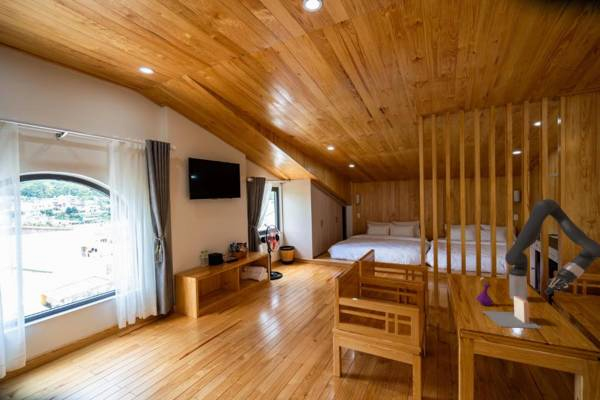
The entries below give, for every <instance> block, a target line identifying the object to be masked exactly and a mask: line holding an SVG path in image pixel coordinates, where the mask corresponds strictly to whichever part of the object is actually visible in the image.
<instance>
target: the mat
mask: <svg viewBox="0 0 600 400" xmlns="http://www.w3.org/2000/svg"><path fill="white" fill-rule="evenodd" d="M482 313H484V315H485V316H487V317H488V318H490V320H492V321H493V322H494V323H495V324H496V325H498V326H499V327H500V328H517V329H531V330H532V329H537V330H542V329H543V327H541V326H539V325H538V324H536V323H535V322H534V321H532V320H531V319H529V323H524V322H522V321H521V320H519V319H518V318H517V317H515V316H514V312H511V311H490V310H488V311H487V310H486V311H485V310H482Z"/></svg>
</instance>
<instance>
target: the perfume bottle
mask: <svg viewBox="0 0 600 400" xmlns="http://www.w3.org/2000/svg"><path fill="white" fill-rule="evenodd" d="M482 280H485V282H484V283H483V285H482V286H483V287H484V288H483V290H482V291H481V292H480V294H479V295H477V296H476V299H477V300H478V302H479V303H480V304H481V306H484V307H485V306H486V307H490V306H491V305H492V304H494V301H493V300H492V298H491V297H490V296H489V294H488V290H489V288H490V287H491V284H490V282H489V281H488V280H487V279H486V278H485V277H483V276H482V277H480V280H479V281H482Z"/></svg>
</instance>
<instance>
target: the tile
mask: <svg viewBox="0 0 600 400" xmlns="http://www.w3.org/2000/svg"><path fill="white" fill-rule="evenodd" d="M529 306H530V305H529V301H528V300H527V301H526V300H524V299H522V298H521V297H519V296H514V300H513V309H514V310H513V311H514V316H515V317H517V318H518V319H519V320H521V321H522V322H524V323H529V320H530V309H529V308H530V307H529Z"/></svg>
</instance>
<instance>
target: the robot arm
mask: <svg viewBox="0 0 600 400" xmlns="http://www.w3.org/2000/svg"><path fill="white" fill-rule="evenodd" d="M548 216H551V217H552V218H553V219H554V220H555V221H556V222H557V224H558V226H559V227H560V229H561V231H562V232H563V233H564V235H565V236H566V237H567V238H568V239H569V240H570V241H571V242H573V243H574V244H575V245H578V246H580V247H581V248H582V250H581V251H580V252H578V254H577V255H576V256H574V258H573V259H572V260H570V261H569V262H568V263H566V264H565V265H563V266H562V267H561V268H560V269H559V270H558V271H557V272H556V276H553V278H551V277H548V278H547V283H546V286H547V288H546V289H544V291H543V293H545V295H551V294H552V293H553V292H556V291H557V292H560V291H564V290H567V289H568V290H569V288H570V286H569V285H570V284H573V282H575V281H576V280H577V279H578V278H579V277H580V276H582V275H583V274H584V273H585V271H587V270H588V269H589V268H590V267H591V266H592V264H593V263H594V262H595V260H597V259H599V258H600V243H598V242H597V241H596V240H594V239H592V238H591V237H589V236H588V234H586V232H584V231H583V230H582V229H581V228H579V227H578V225H576V224H575V223H574V222H573V221H572V219H571V218H570V217H569V216H568V215H567V213H565V211H564V210H563V209H562V207H561V206H560V205H559V204H558V202H557V201H556V200H554V199H551V198H546V199H543V200H539V201H537V202H535V204H534V205H533V206H532V210H531V212H530V215H529V216H528V219H527V221H525V223H524V226H523V227H522V228H521V230H520V232H519V233H518V235H517V237H516V239H515V241H514V243H513V245H512V246H511V247H510V248H509V250H508V251H507V252H506V253H505V257H504V258H505V259H504V260H505V262H506V264H508V265H509V266H513V267H512V268H510V269H509V270H508V277H509V278H508V281H509V283H508V284H509V298H510V300H513V301H514V296H519V297H521V298H522V299H524V300H526V301H528V288H527V287H528V285H527V284H528V283H527V273H528V270H529V268H528V266H529V265H528V263H529V262H528V256H527V254H526V253H525V252H524V251H525V250H527V249H528V248H530V247H531V246H533V245H534V244H535V243H536V242H537V240H538V239H539V237H540V235H541V232H542V225H543V223H544V221H545V220H546V219H547V218H548Z"/></svg>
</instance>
